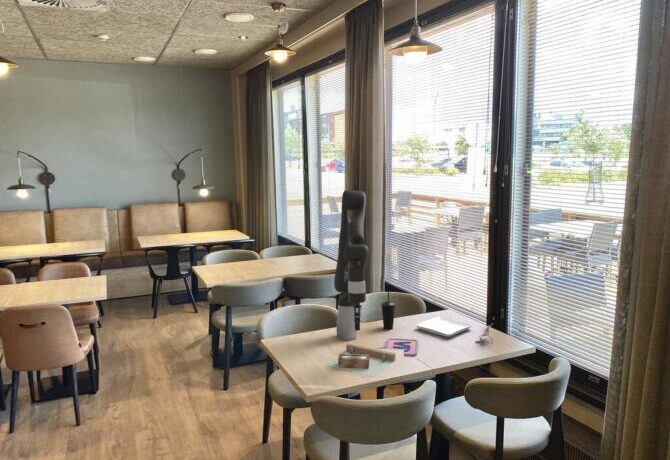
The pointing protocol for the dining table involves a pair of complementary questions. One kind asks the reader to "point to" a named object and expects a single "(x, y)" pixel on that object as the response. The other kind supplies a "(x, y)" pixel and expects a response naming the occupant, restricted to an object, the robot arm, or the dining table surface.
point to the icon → (402, 345)
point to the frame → (353, 361)
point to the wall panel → (376, 360)
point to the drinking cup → (388, 313)
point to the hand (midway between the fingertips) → (357, 327)
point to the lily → (486, 332)
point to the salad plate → (443, 326)
